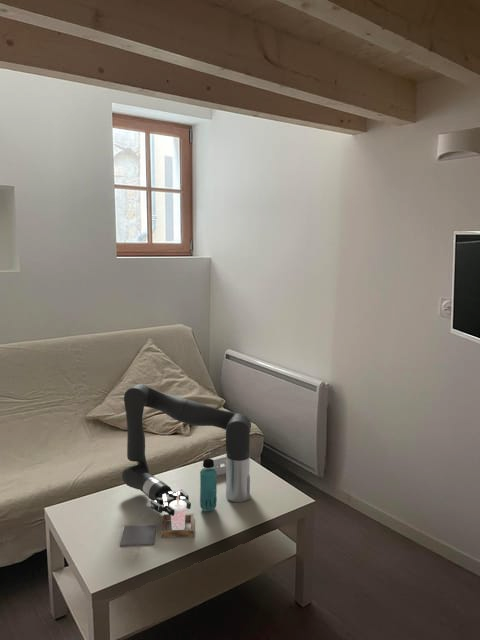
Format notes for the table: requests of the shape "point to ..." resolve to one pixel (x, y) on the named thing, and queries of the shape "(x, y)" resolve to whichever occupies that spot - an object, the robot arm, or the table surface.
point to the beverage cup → (178, 513)
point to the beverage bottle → (208, 485)
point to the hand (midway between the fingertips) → (181, 509)
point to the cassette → (217, 466)
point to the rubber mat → (138, 535)
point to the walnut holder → (178, 532)
